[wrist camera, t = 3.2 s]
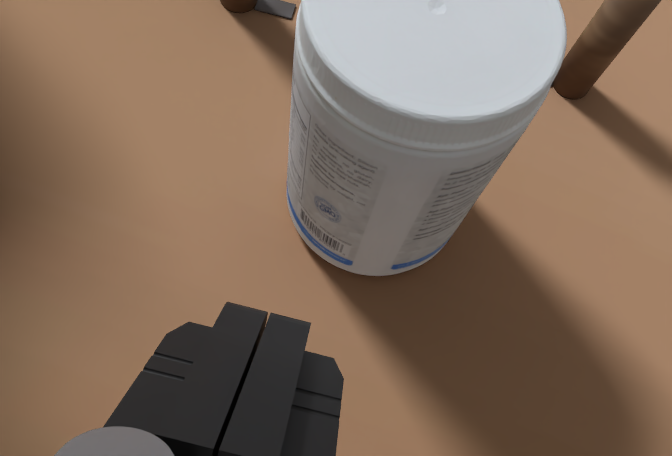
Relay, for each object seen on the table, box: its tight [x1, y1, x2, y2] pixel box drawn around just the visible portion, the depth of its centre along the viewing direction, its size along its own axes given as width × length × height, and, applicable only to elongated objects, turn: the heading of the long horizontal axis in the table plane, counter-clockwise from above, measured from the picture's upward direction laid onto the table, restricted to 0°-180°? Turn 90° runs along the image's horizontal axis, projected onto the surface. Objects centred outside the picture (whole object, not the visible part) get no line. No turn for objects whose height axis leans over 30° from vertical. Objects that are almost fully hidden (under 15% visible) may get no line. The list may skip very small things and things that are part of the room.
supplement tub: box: [287, 0, 567, 276], centre depth 27 cm, size 10×10×15 cm
